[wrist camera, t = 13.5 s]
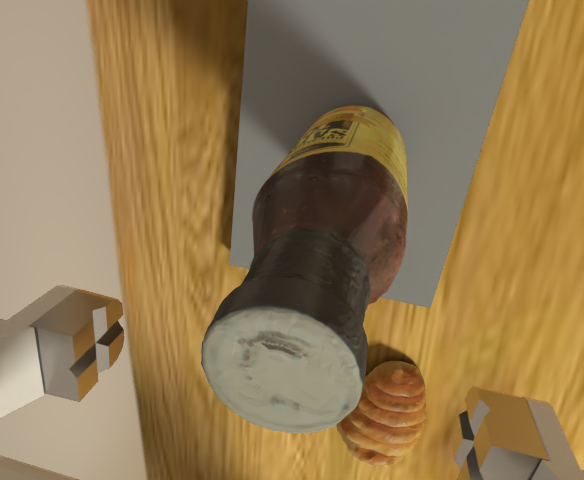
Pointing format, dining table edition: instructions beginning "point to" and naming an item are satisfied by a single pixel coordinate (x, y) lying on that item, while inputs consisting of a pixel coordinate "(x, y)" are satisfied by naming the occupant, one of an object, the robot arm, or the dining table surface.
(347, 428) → the pastry
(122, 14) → the dining table surface
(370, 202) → the sauce bottle
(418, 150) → the serving board
